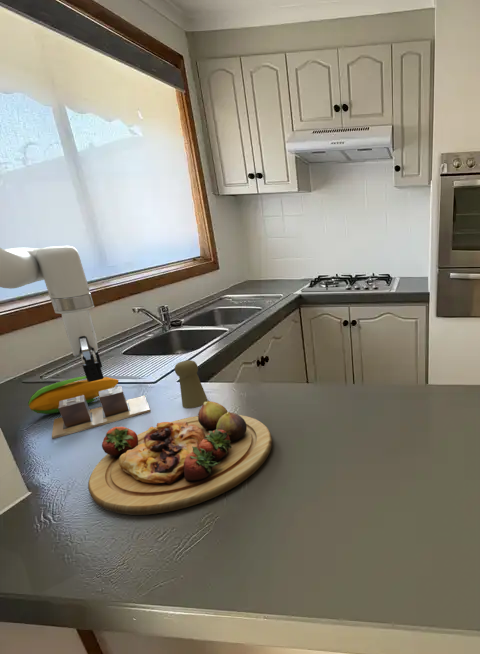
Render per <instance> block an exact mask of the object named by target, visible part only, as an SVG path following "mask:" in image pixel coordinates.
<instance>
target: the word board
mask: <svg viewBox="0 0 480 654" xmlns="http://www.w3.org/2000/svg"><path fill="white" fill-rule="evenodd" d="M126 402H127V405H128V409H129V410H128V411H124V412H120V413H117V414H113V415H109V416H105V414H104V411H103V408H102V406H98V407H95V408H91V409H89V410H90V413H91V421H88V422H84V423H80V424H77V425H73V426H69V427H66V426H65V424H64V421H63V419H62V416H60V417H57V418H54V419H53V424H52V431H51V439H52V440H54V439H55V440H56V439H58V438H61V437H65V436H68V435H72V434H76V433H79V432H82V431H86V430H90V429H93V428H97V427H100V426H105V425H108V424H112V423H115V422H118V421H122V420H126V419H128V418H132V417H133V418H134V417H136V416H139V415H144V414H146V413H151V408H150V405H149V403H148V400H147V397H146V394H145V395H140V396H137V397H132V398H129V399H126Z"/></svg>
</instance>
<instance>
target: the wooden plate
mask: <svg viewBox="0 0 480 654" xmlns="http://www.w3.org/2000/svg"><path fill="white" fill-rule="evenodd" d="M272 447H273V437H272V433H271V432H270V429H269V428H268V426H266V425H265V424H264V423H262V422H261V421H259V420H258V419H256V418H255V417H250V416H247V415H243V414H238V413H235V412H230V411H228V410H227V408H226V407H225V406H223V405H222V404H221V403H218V402H215V401H211V400H208V401H207V402H204V403H203V404H202V405H201V406H200V409H199V410H198V414H197V415H194V416H189V417H185V418H179V419H176V420H173V421H162V422H161V421H160V422H157V423H156V425H155V426H150V427H149V428H148V429H147V430H145V431H142V432H140V433H138V434H137V433H136V431H134V430H132V429H131V428H129V427H125V426H113V427H112V428H110V429H109V430H107V432H106V434H105V436H104V437H103V440H102V442H101V448H102V450H103V453H104V454H105V456H103V458H102V459H100V461H98V463H97V464H96V465H95V467H94V468H93V470H92V472H91V474H90V475H89V480H88V482H87V483H88V484H87V485H88V486H87V489H88V492H89V495H90V497H91V499H92V500H93V502H94V503H95V504H96V505H97V506H99V507H101V508H102V509H105V510H107V511H110V512H112V513H116V514H122V515H131V516H132V515H134V516H136V515H137V516H138V515H140V516H141V515H142V516H143V515H145V516H146V515H156V514H163V513H168V512H173V511H177V510H181V509H186V508H190V507H193V506H195V505H198V504H201V503H203V502H206V501H209V500H211V499H213V498H216V497H218V496H220V495H222V494H224V493H227V492H228V491H230V490H232V489H234V488H236V487H237V486H239V485H240V484H241V483H243V482H245V480H247V479H248V478H249V477H251V476H252V475H253V474H255V472H257V471H258V470H259V469H260V467H261V466H262V465H263V464H264V463H265V462H266V460H267V459H268V458H269V457H268V456H269V455H270V453H271V450H272Z"/></svg>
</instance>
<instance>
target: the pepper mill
mask: <svg viewBox="0 0 480 654" xmlns="http://www.w3.org/2000/svg"><path fill="white" fill-rule="evenodd" d="M198 371H199V366H198V364H197V363H196V361H195V360H191V359H188V360H182V361H179V362H177V363H176V364H175V365H174V372H175V374H176V376H177V377H178V379H179V389H180V395H181V396H180V397H181V405H182V408H184V409H194V408H195V409H196V408H199V407H202V404H203V403H204V402H208V401H209V400H208V397H207V394H206V391H205V390H204V387H203V385H202V382H201V379H200V378H199V375H198Z"/></svg>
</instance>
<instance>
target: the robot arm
mask: <svg viewBox="0 0 480 654" xmlns="http://www.w3.org/2000/svg"><path fill="white" fill-rule="evenodd" d="M41 281H44V283H45V287H46V289H47V292H48V296H49V299H50V301H51V304H52V307H53V310H54V313H55V314H61V317H62V318H61V320H62V322H63V327H64V330H65V334H66V337H67V340H68V343H69V347H70V350H71V353H72V356H73V357H78V356H79V355H80V358H81V362H82V369H83V372H84V374H85V375H84V376H86V380H87V381H88V382H91V381H96V380H100V379H103V378H104V377H105V376H104V373H103V370H102V367H103V364H102V361H101V357H100V355H99V347H98V338H97V334H96V330H95V326H94V322H93V319H92V315H91V312H90V310H92V309H94V308H95V304H94V301H93V297H92V294H91V290H90V287H89V284H88V280H87V276H86V273H85V269H84V266H83V264H82V259H81V256H80V254H79V251H78V250H77V249H76V248H75V246H71V245H57V246H47V247H46V246H45V247H41V248H39V247H38V248H36V247H13V248H5V249H4V248H1V247H0V288H3V289H10V290H12V289H18V288H21V287H23V286H27V285H30V284H33V283H36V282H41Z"/></svg>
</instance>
